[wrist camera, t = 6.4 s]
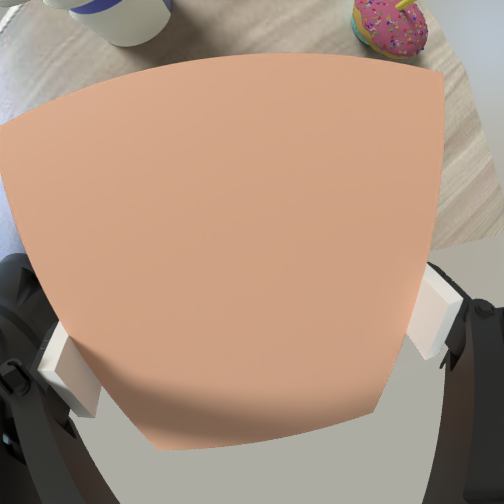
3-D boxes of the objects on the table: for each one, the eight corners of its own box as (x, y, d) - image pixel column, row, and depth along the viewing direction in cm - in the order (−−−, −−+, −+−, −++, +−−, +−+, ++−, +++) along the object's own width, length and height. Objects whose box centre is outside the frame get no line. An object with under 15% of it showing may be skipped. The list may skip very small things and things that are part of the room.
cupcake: (320, 18, 22) (379, -16, 11) (365, -15, 19) (428, -45, 9) (373, 75, 25) (448, 73, 15) (412, 39, 23) (484, 32, 12)
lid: (159, 414, 14) (158, 450, 12) (37, 120, 7) (-8, 130, 4) (357, 380, 15) (372, 412, 13) (394, 73, 8) (443, 73, 5)
